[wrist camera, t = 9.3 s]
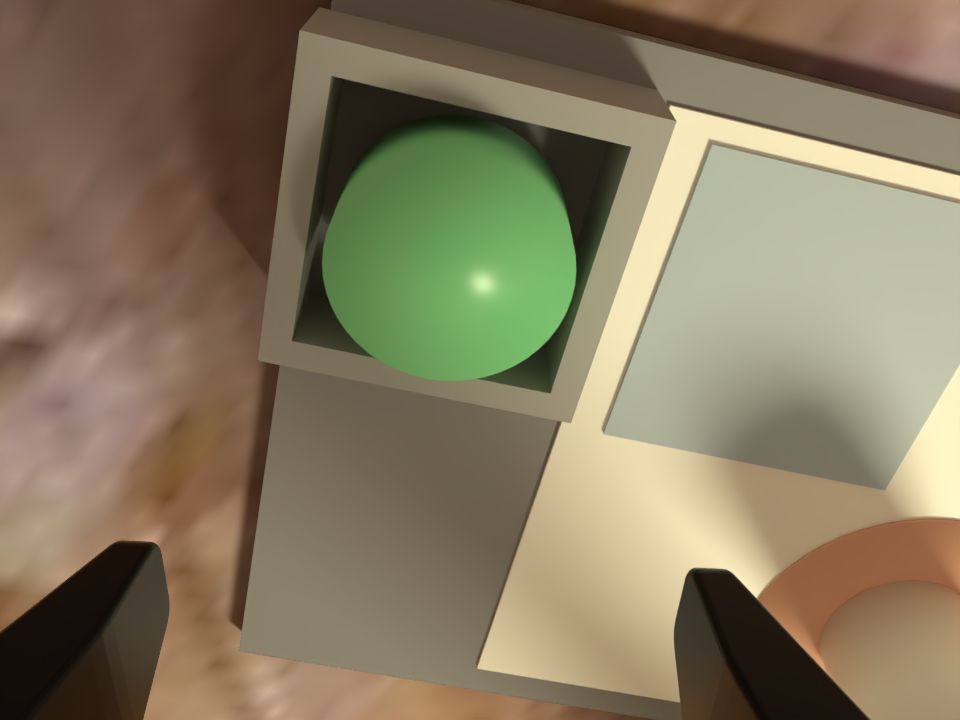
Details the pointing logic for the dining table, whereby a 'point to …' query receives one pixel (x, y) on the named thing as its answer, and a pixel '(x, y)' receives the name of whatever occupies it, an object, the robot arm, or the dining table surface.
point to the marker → (897, 651)
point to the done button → (450, 249)
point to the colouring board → (613, 364)
